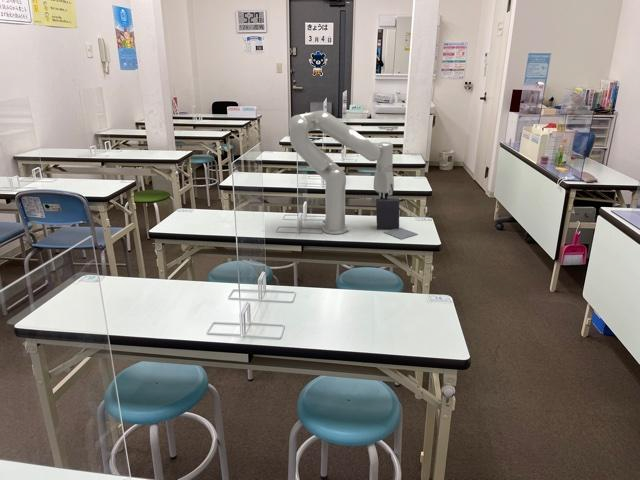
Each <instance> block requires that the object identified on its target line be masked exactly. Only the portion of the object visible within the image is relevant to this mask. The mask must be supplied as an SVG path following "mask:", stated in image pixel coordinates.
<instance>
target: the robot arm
mask: <svg viewBox="0 0 640 480" xmlns="http://www.w3.org/2000/svg"><path fill="white" fill-rule="evenodd" d="M288 128H289V131H290V132H289V141H290V144H291V145H290V146H291V147H292V149H293V150H294V152H295V153H297V154H298V155H299V156H300V158H302V159H303V161H305V162H306V163H307V165H308V167H310V168H311V169H312V170H313V171H314V172H315V173H316V174H318V175H319V176H320V177H321V178H322V179H323V180H324V181H325V190H324V191H325V198H324V200H325V201H324V202H325V204H324V205H325V219H323V220H322V223H324V226H323V227H322V231H323V233H326V234H330V235H340V234H341V235H342V234H345V233H347V232H349V226H347V225H346V185H347V176H346V173H345V171H344V169H342V168H341V167H340V166H339V165H338V164H337V163H336V162H334V160H332V159H331V158H330V157H329V156H328V155H327V154H326V152H324V150H322V148H321V149H320V148H319V147H318V146H317V145H316V144H315V143H314V142H313V141H312V140H311V139H310V137H309V132H311V131H312V132H313V131H316V130H319V131H321V132H323V134H326V135H327V136H329V137H330V138H332V139H333V140H335V141H336V142H338V143H340V144H341V145H342V146H344V147H346V148H348V149H351V150H352V151H354V152H355V153H357V154H358V155H360V156H361V157H363V158H364V159H366V160H368V162H376V165H375V167H376V170H375V172H374V176H373V177H374V178H373V190H374V191H375V192H376V193H377V194H378V196H379V199H388V198H389V197H390V196H393V192H394V189H395V180H394V179H395V178H394V173H393V164H394V163H393V162H394V161H393V160H394V159H393V158H394V156H393V154H394V144H393V143H392V142H390V141H389V142H388V141H383V142H372V141H370V140H368V139H367V138H366V137H364V136H362V135H361V134H360V133H359V132H357V131H356V130H355V129H354V128H352V127H351V126H349V125H347V124H346V123H344V122H343V121H342V120H340V119H339V118H337V117H335V116H334V115H332V114H331V113H329V112H328V111H325V110H315V111H310V112H306V113H301V114H295V115H293V116H292V117H290V118H289V121H288Z"/></svg>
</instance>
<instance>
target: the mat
mask: <svg viewBox="0 0 640 480" xmlns="http://www.w3.org/2000/svg"><path fill="white" fill-rule="evenodd" d="M383 234H385V235H388V236H390V237H393V238H396V239H398V240H401V241H402V240H406V239H407V238H411V237H414V236H418V235H419V233H416V232H414V231H411V230H408V229H406V228H403V227H399V229H389V230H387V231H386V230H385V231H383Z"/></svg>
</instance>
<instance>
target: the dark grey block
mask: <svg viewBox="0 0 640 480" xmlns="http://www.w3.org/2000/svg"><path fill="white" fill-rule="evenodd" d="M375 206H376V207H375V210H376V211H375V213H376V214H375V215H376V229H377V230H393V229H399V228H400V199H399V198H398V197H397V198H396V197H392V198H389V197H388V198H387V199H380V198H376V199H375Z"/></svg>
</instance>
